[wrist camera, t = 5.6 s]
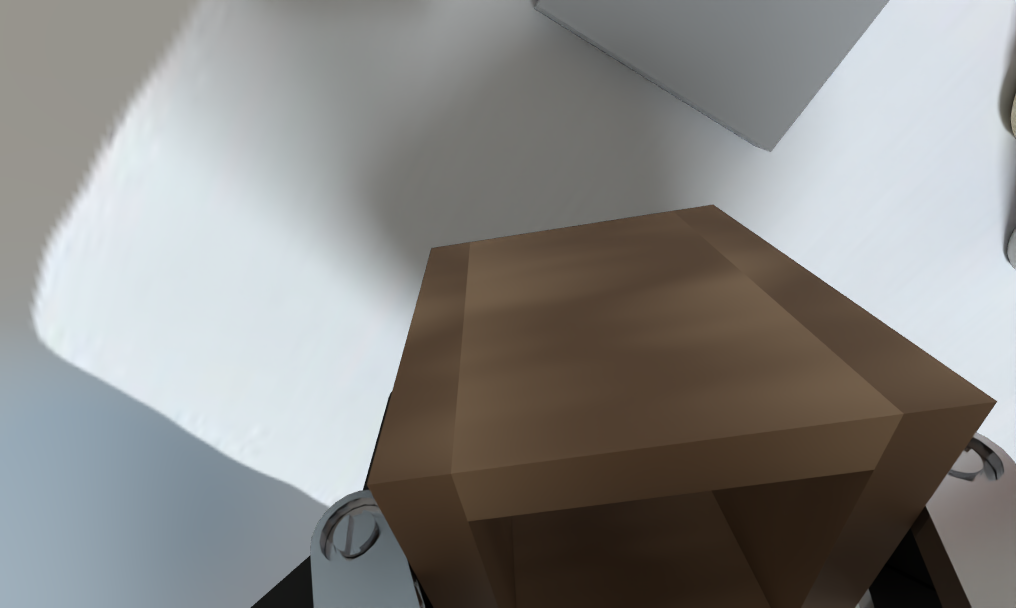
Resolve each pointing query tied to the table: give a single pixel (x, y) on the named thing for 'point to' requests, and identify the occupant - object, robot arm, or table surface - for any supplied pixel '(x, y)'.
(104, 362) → the table surface
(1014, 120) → the stacking toy
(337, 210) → the table surface
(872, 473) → the wooden cube shelf
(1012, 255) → the cup
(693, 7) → the board
